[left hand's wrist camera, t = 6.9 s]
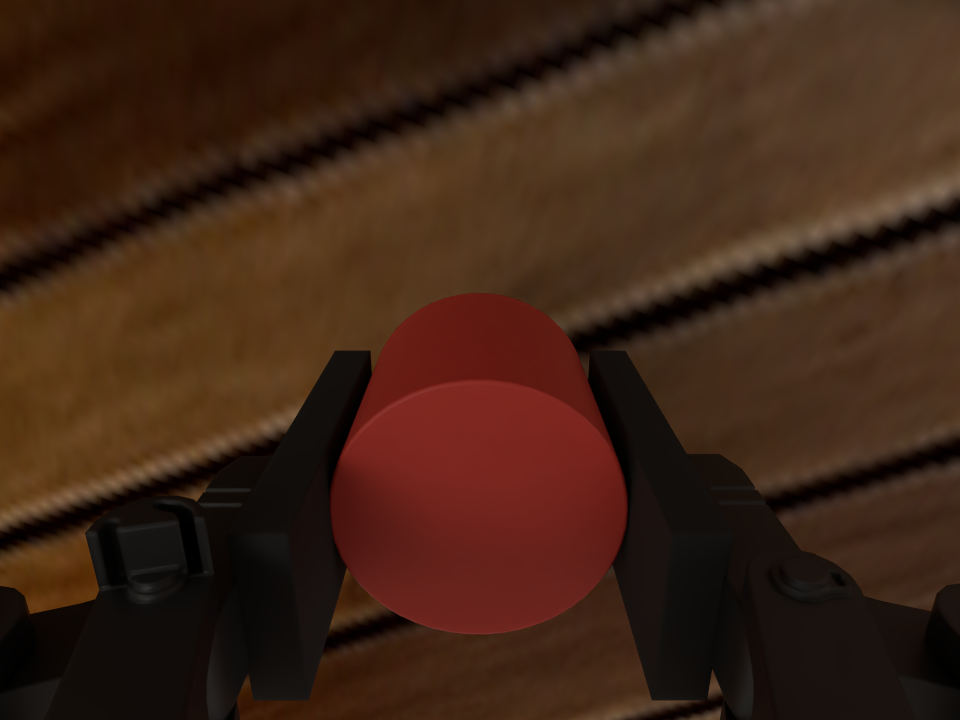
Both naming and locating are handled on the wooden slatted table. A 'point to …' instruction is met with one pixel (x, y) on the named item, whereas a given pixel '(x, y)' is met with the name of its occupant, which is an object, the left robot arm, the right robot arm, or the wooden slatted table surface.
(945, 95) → the wooden slatted table surface
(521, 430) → the canister
